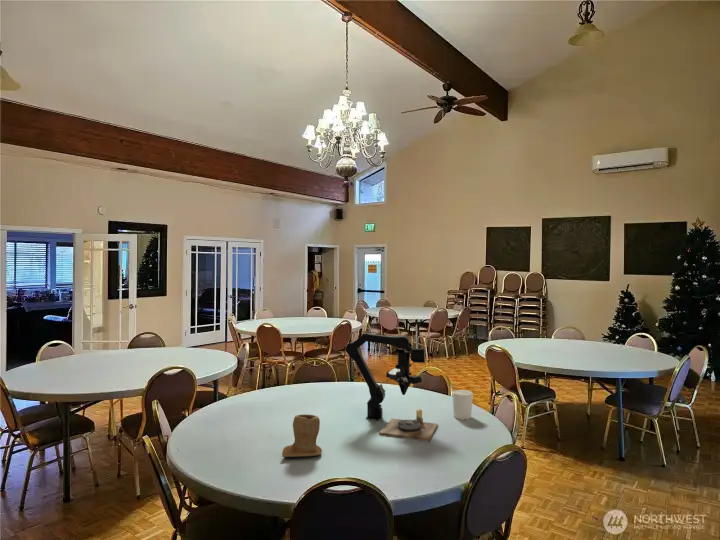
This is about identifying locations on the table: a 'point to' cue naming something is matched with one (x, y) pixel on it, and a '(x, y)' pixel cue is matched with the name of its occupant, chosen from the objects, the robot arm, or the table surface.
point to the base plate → (422, 434)
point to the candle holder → (462, 404)
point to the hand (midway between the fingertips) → (403, 394)
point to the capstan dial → (411, 423)
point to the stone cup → (304, 437)
